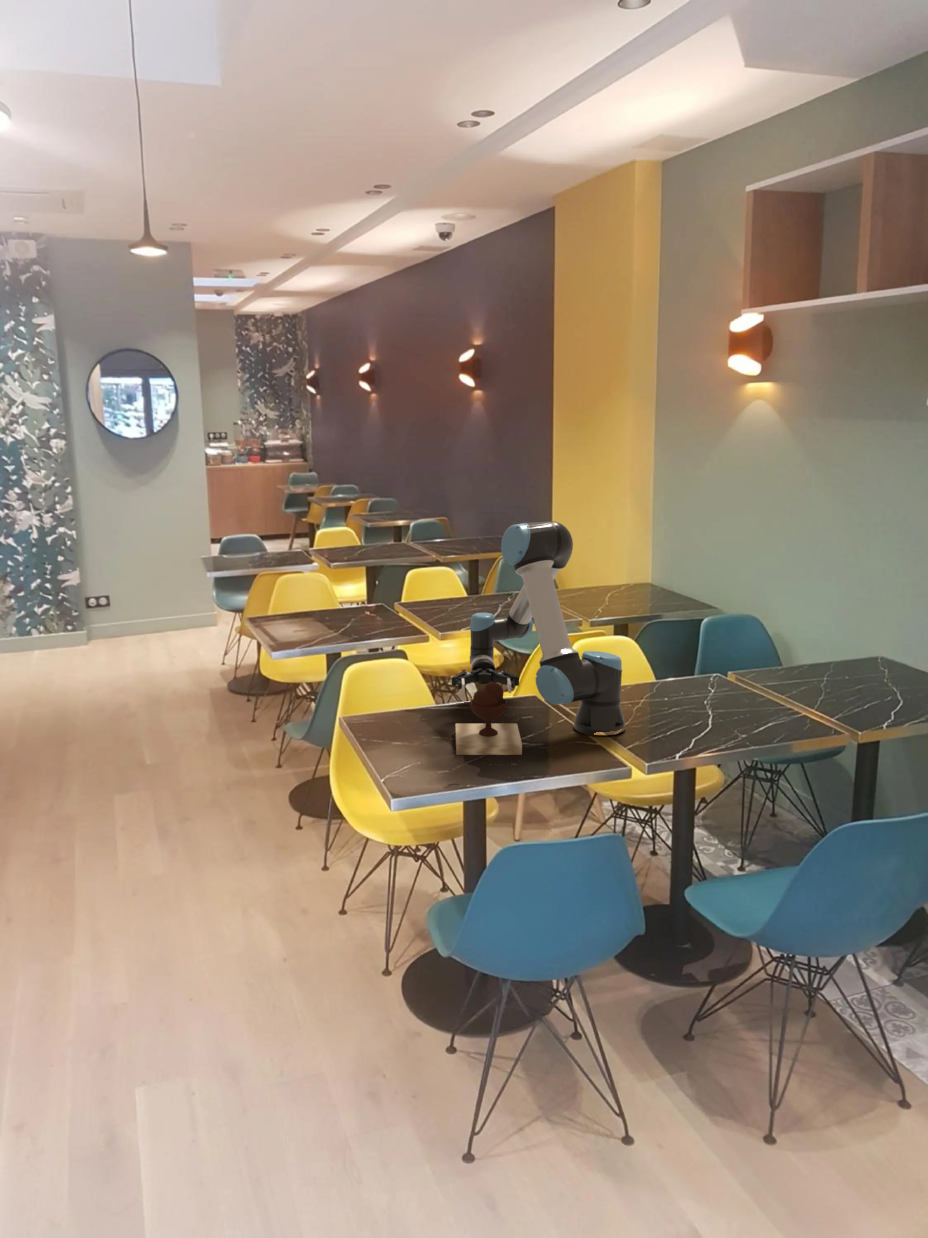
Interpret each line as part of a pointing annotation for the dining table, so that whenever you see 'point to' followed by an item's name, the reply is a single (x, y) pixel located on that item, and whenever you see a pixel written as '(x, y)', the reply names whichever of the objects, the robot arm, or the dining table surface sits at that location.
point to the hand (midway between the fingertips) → (486, 688)
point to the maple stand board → (488, 740)
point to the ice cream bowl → (489, 706)
